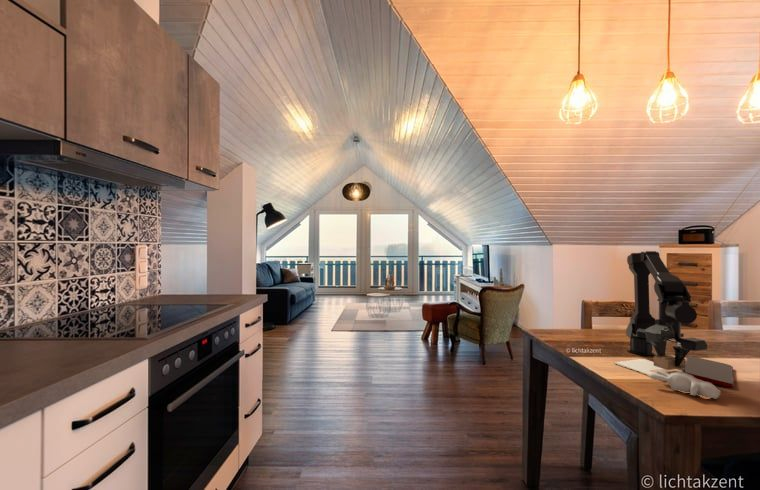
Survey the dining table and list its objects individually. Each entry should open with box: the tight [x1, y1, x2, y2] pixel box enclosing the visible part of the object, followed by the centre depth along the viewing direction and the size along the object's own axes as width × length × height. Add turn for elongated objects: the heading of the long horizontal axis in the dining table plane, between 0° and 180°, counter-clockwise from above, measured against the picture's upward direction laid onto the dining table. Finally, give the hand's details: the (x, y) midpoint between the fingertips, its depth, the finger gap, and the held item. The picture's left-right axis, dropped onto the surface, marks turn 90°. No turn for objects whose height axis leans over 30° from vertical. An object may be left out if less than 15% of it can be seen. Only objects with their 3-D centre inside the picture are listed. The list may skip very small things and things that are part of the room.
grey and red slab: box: [681, 355, 735, 388], centre depth 120 cm, size 12×2×25 cm
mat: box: [613, 358, 683, 376], centre depth 123 cm, size 17×14×1 cm
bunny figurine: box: [649, 370, 721, 400], centre depth 106 cm, size 10×5×15 cm
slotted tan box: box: [653, 354, 686, 370], centre depth 119 cm, size 8×4×3 cm, turn 106°
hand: (669, 364), depth 119 cm, fingers closed on slotted tan box, 4 cm apart
